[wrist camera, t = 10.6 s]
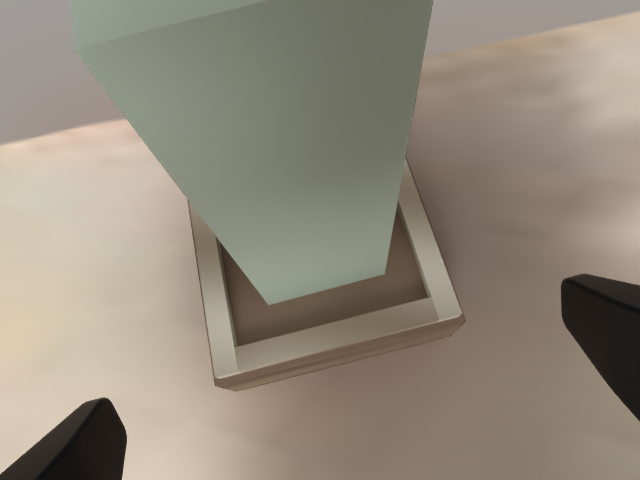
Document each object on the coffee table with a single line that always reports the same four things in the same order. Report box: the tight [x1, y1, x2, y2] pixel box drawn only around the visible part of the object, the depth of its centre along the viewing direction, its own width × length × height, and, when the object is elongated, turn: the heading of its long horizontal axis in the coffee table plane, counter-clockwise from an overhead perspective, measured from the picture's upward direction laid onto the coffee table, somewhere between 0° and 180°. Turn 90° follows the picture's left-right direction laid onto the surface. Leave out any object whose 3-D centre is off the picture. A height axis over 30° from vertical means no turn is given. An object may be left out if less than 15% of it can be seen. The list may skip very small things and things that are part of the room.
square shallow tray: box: [187, 157, 466, 391], centre depth 19 cm, size 9×9×4 cm
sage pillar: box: [71, 0, 433, 305], centre depth 12 cm, size 4×4×12 cm
